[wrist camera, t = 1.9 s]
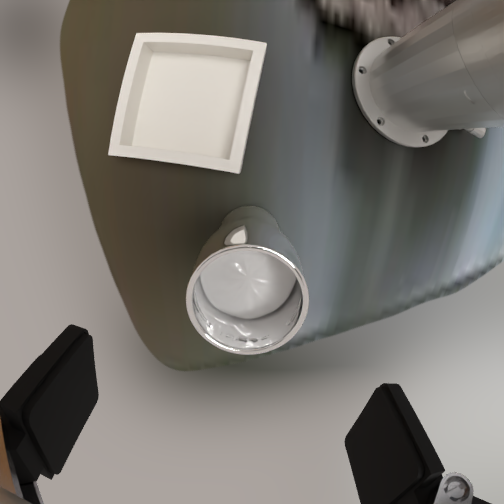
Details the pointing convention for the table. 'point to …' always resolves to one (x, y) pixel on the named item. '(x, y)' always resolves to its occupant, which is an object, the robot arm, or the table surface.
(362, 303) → the table surface
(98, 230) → the table surface
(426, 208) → the table surface
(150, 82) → the tray
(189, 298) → the beer glass
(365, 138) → the table surface
